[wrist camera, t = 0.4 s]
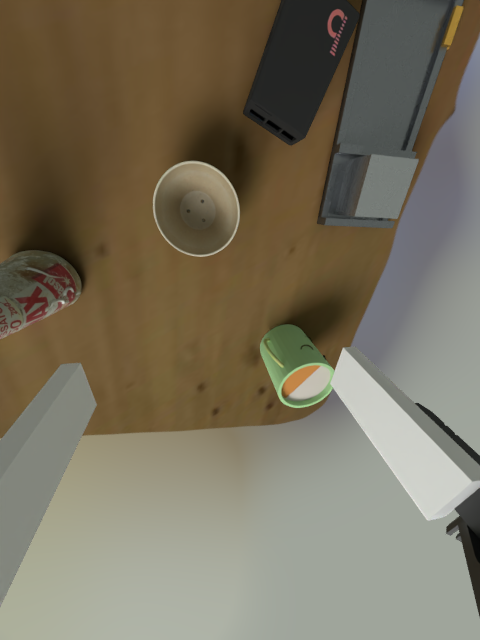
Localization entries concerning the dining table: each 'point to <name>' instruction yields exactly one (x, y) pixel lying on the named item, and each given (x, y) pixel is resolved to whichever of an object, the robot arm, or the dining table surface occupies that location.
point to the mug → (296, 366)
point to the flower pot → (196, 208)
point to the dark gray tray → (385, 108)
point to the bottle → (34, 288)
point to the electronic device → (299, 65)
